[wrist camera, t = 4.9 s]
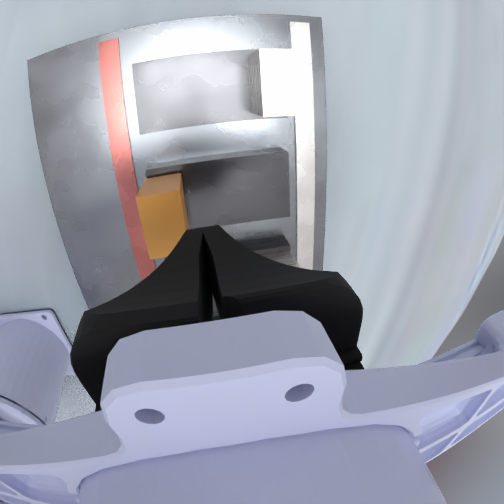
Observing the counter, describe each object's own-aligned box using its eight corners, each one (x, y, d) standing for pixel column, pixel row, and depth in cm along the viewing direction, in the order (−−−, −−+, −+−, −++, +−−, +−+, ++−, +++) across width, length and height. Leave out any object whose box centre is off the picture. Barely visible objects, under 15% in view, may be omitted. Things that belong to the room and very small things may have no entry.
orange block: (155, 231, 18) (150, 259, 15) (144, 178, 16) (136, 197, 13) (189, 226, 18) (190, 253, 15) (181, 172, 16) (179, 190, 13)
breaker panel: (118, 357, 26) (112, 408, 21) (35, 61, 13) (-12, 57, 8) (312, 328, 28) (335, 373, 23) (314, 21, 16) (356, 2, 11)
